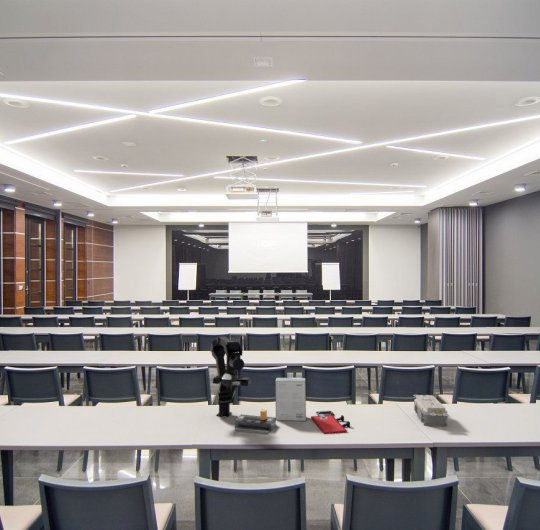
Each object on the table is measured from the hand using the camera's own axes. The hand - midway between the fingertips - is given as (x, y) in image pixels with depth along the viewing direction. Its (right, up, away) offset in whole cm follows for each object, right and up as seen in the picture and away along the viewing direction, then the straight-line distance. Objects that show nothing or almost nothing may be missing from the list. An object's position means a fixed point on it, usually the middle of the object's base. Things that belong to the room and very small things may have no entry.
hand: (231, 398), depth 209 cm
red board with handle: (+49, -13, 0) cm, 50 cm away
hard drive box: (+30, -13, +6) cm, 33 cm away
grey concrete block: (+100, -13, +3) cm, 101 cm away
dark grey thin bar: (+10, -12, -12) cm, 20 cm away
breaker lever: (+16, -8, -7) cm, 19 cm away
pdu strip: (+12, -12, -6) cm, 18 cm away
